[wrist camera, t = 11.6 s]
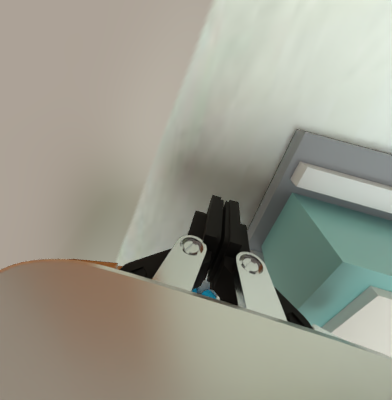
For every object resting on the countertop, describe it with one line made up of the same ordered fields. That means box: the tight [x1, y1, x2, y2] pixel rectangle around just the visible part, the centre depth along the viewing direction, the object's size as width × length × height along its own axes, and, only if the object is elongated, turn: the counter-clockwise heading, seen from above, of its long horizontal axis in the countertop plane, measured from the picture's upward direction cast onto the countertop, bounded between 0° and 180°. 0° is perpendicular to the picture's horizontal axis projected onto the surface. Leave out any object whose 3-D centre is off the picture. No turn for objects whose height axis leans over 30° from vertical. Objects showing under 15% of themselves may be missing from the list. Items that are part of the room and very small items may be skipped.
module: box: [261, 193, 392, 357], centre depth 10 cm, size 5×8×6 cm, turn 77°
